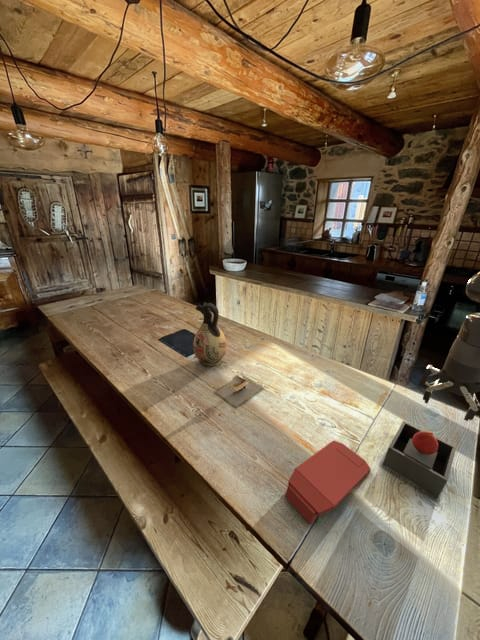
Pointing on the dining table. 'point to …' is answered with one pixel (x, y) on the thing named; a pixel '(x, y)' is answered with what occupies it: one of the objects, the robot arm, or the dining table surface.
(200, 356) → the ceramic jug
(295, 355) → the dining table surface
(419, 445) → the onion
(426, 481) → the crate
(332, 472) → the carton
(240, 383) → the architectural model
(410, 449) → the block
